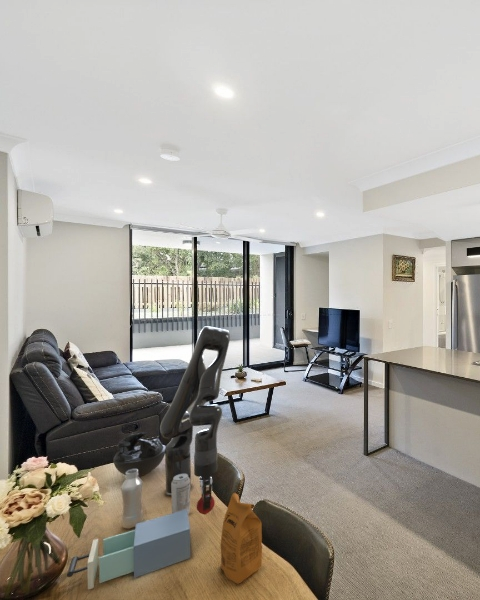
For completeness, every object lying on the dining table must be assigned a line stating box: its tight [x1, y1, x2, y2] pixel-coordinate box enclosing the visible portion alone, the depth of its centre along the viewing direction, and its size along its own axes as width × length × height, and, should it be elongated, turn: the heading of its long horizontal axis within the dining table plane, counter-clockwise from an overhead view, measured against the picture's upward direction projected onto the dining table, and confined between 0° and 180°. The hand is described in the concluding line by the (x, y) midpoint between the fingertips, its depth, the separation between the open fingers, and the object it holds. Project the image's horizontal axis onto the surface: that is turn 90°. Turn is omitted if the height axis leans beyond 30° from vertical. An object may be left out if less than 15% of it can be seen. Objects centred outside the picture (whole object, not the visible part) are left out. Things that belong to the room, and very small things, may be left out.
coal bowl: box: [112, 431, 166, 477], centre depth 169 cm, size 20×20×19 cm
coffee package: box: [219, 492, 263, 585], centre depth 111 cm, size 10×12×22 cm
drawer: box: [66, 529, 135, 591], centre depth 110 cm, size 18×11×8 cm, turn 124°
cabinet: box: [133, 509, 191, 578], centre depth 117 cm, size 15×13×10 cm
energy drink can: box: [171, 474, 191, 515], centre depth 138 cm, size 6×6×15 cm
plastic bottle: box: [120, 469, 145, 529], centre depth 132 cm, size 6×7×20 cm
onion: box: [196, 495, 215, 516], centre depth 133 cm, size 6×6×8 cm
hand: (205, 504), depth 133 cm, fingers closed on onion, 6 cm apart
